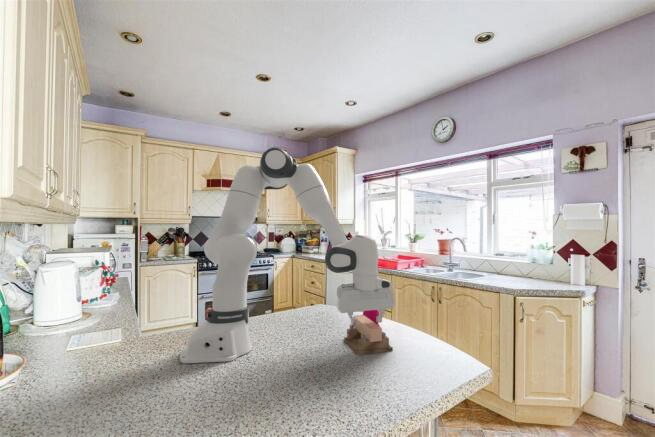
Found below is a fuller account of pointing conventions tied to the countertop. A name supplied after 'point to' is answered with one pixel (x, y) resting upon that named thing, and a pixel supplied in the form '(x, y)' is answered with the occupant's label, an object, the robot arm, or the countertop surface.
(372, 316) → the pepper mill
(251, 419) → the countertop surface
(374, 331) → the peach rectangular block
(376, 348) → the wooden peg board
